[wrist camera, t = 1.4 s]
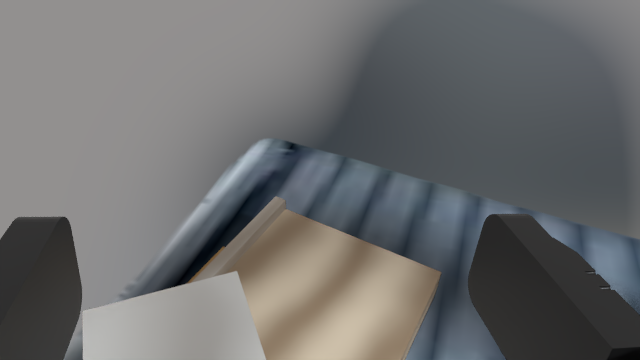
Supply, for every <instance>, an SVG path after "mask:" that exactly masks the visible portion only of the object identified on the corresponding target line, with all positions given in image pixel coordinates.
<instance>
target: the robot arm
mask: <svg viewBox="0 0 640 360" xmlns="http://www.w3.org/2000/svg"><path fill="white" fill-rule="evenodd" d="M468 288H469V294H470V298H471V301H472V303H473V305H474V307H475V308H476V310H477V312H478V313H479V315H480V317H481V318H482V320H483V322H484V323H485V325H486V327H487V328H488V330H489V332H490V333H491V335H492V337H493V338H494V340H495V342H496V343H497V345H498V347H499V348H500V350H501V352H502V353H503V355H504V357H505V358H506V360H640V315H639V314H638V313H637V312H636V311H635V310H634V309H633V308H632V307H631V306H630V305H629V304H628V303H627V302H626V301H625V300H624V299H623V298H622V297H621V296H620V295H619V294H618V293H617V292H616V291H615V290H611V289H610V285H609V284H608V283H607V282H606V281H605V280H604V279H603V278H602V277H601V276H600V275H599V274H597V275H596V274H595V270H594V269H593V268H592V267H591V266H590V265H589V264H588V263H587V262H586V261H585V260H584V259H583V258H582V257H581V256H580V255H579V254H578V253H577V252H575V251H574V250H572V249H571V248H569V247H567V246H566V245H564V244H563V243H561V242H559V241H558V240H556V239H555V238H552V237H551V236H550V235H549V234H548V233H547V232H546V231H545V230H544V229H543V227H542V226H541V225H540V224H539V223H538V222H537V221H536V220H535V219H534V218H533V217H532V216H530V215H528V214H492V215H489V216H488V217H487V218H486V220H485V222H484V224H483V228H482V231H481V234H480V238H479V241H478V245H477V248H476V252H475V255H474V258H473V262H472V265H471V269H470V272H469V277H468ZM81 302H82V286H81V280H80V275H79V269H78V263H77V258H76V252H75V247H74V241H73V236H72V231H71V226H70V223H69V221H68V219H67V218H65V217H18V218H16V219H15V220H14V221H13V222H12V224H11V225H10V226H9V228H8V229H7V231H6V232H5V234H4V235H3V236H2V238H1V240H0V360H63V359H64V356H65V353H66V351H67V348H68V346H69V343H70V340H71V338H72V335H73V332H74V330H75V327H76V324H77V321H78V319H79V315H80V310H81Z"/></svg>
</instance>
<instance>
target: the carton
mask: <svg viewBox="0 0 640 360" xmlns="http://www.w3.org/2000/svg"><path fill="white" fill-rule="evenodd" d="M82 314H83V315H82V320H83V360H266V358H265V354H264V351H263V348H262V345H261V342H260V339H259V336H258V333H257V330H256V327H255V324H254V321H253V318H252V315H251V312H250V309H249V306H248V303H247V300H246V297H245V294H244V291H243V288H242V285H241V282H240V279H239V275H238V272H237V271H234V272H231V273H227V274H223V275H219V276H215V277H211V278H207V279H204V280H200V281H196V282H192V283H188V284H184V285H180V286H177V287H173V288H169V289H165V290H161V291H157V292H154V293H150V294H146V295H142V296H138V297H134V298H130V299H127V300H123V301H119V302H115V303H111V304H107V305H103V306H100V307H96V308H92V309H89V310H84V311H82Z"/></svg>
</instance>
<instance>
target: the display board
mask: <svg viewBox="0 0 640 360" xmlns="http://www.w3.org/2000/svg"><path fill="white" fill-rule="evenodd" d="M234 271H237V272H238V275H239V279H240V282H241V285H242V288H243V291H244V294H245V297H246V300H247V303H248V306H249V309H250V312H251V315H252V318H253V321H254V324H255V327H256V330H257V333H258V336H259V339H260V342H261V345H262V348H263V351H264V354H265V358H266V360H405V359H406V356H407V354H408V352H409V350H410V348H411V346H412V343H413V341H414V339H415V337H416V335H417V333H418V330H419V328H420V326H421V324H422V322H423V320H424V317H425V315H426V313H427V311H428V309H429V307H430V304H431V302H432V300H433V298H434V296H435V294H436V290H437V287H438V283H439V280H440V276H441V272H440V271H437V270H435V269H432V268H430V267H427V266H425V265H422V264H420V263H417V262H415V261H413V260H410V259H408V258H405V257H403V256H400V255H398V254H395V253H393V252H390V251H388V250H385V249H383V248H381V247H378V246H376V245H373V244H371V243H368V242H366V241H363V240H361V239H358V238H356V237H353V236H351V235H349V234H346V233H344V232H341V231H339V230H336V229H334V228H331V227H329V226H326V225H324V224H321V223H319V222H317V221H314V220H312V219H309V218H307V217H304V216H302V215H299V214H297V213H294V212H292V211H289V210H287V209H286V200H284V199H281V198H279V197H276V196H275V197H274V198H273V200H272V201H271V202H270V203H269V204H268V205H267V206H266V207H265V208H264V209H263V210H262V211H261V212H260V213H259V214H258V215H257V216H256V217H255V218H254V219H253V220H252V221H251V222H250V223H249V224H248V225H247V226H246V227H245V228H244V229H243V230H242V231H241V232H240V233H239V234H238V235H237V236H236V237H235V238H234V239H233V240H232V241H231V242H230V243H229V244H228V245H227V246H226V247H222V248H221V249H220V250H219V251H218V252H217V253H216V254H215V255H214V256H213V257H212V258H211V259H210V260H209V261H208V262H207V263H206V264H205V265H204V266H203V267H202V269H201V270H200V271H199V272H198V273H197V274H196V275H195V276H194V277H193V278H192V279H191V280H190V281H189V282H188V283H192V282H196V281H200V280H204V279H207V278H211V277H215V276H219V275H223V274H227V273H231V272H234ZM188 283H187V284H188Z"/></svg>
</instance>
